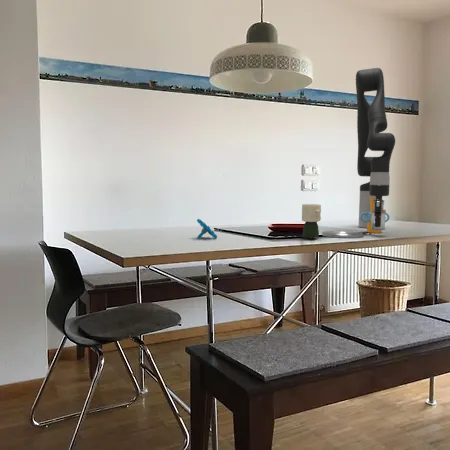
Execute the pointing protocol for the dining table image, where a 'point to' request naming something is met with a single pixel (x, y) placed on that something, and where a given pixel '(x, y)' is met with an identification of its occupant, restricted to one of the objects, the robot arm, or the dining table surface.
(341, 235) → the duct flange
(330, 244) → the dining table surface
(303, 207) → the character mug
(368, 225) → the orange block with rings
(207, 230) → the blue piece
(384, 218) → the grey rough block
